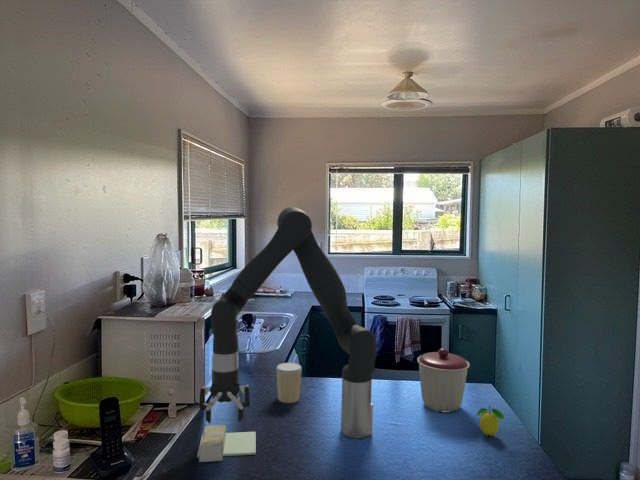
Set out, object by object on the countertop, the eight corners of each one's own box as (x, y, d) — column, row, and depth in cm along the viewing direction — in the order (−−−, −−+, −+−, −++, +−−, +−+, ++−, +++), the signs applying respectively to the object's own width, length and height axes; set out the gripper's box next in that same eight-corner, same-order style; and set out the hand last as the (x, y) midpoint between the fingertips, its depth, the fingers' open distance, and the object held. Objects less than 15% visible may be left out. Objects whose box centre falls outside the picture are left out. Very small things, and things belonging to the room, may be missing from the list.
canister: (405, 404, 159) (407, 347, 158) (434, 392, 171) (436, 338, 170) (449, 423, 146) (451, 360, 145) (477, 408, 158) (480, 350, 156)
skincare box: (225, 424, 131) (223, 444, 119) (225, 439, 131) (223, 460, 119) (204, 425, 130) (199, 446, 118) (204, 440, 130) (199, 462, 118)
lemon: (503, 440, 135) (505, 408, 134) (485, 441, 134) (487, 409, 133) (492, 430, 141) (493, 399, 141) (474, 431, 140) (476, 400, 140)
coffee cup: (297, 392, 168) (297, 361, 168) (304, 402, 160) (304, 369, 159) (273, 395, 165) (273, 363, 165) (279, 405, 157) (279, 372, 156)
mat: (255, 433, 136) (255, 431, 136) (255, 454, 124) (255, 452, 124) (202, 436, 134) (202, 434, 134) (197, 457, 122) (197, 455, 122)
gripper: (198, 371, 123) (197, 428, 124) (250, 370, 125) (249, 426, 126) (201, 362, 130) (201, 416, 131) (250, 361, 132) (249, 414, 133)
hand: (224, 421), depth 128 cm, fingers open, 8 cm apart
